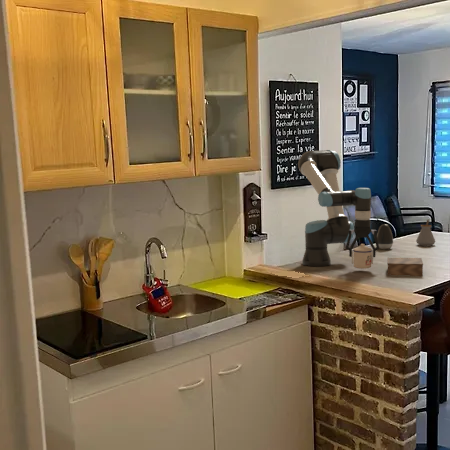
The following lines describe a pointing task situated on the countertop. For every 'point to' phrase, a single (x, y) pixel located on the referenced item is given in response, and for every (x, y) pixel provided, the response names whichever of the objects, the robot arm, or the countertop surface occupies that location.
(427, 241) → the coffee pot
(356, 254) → the teacup with lid
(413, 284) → the countertop surface
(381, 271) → the countertop surface
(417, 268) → the walnut box
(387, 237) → the brown egg-shaped piece
